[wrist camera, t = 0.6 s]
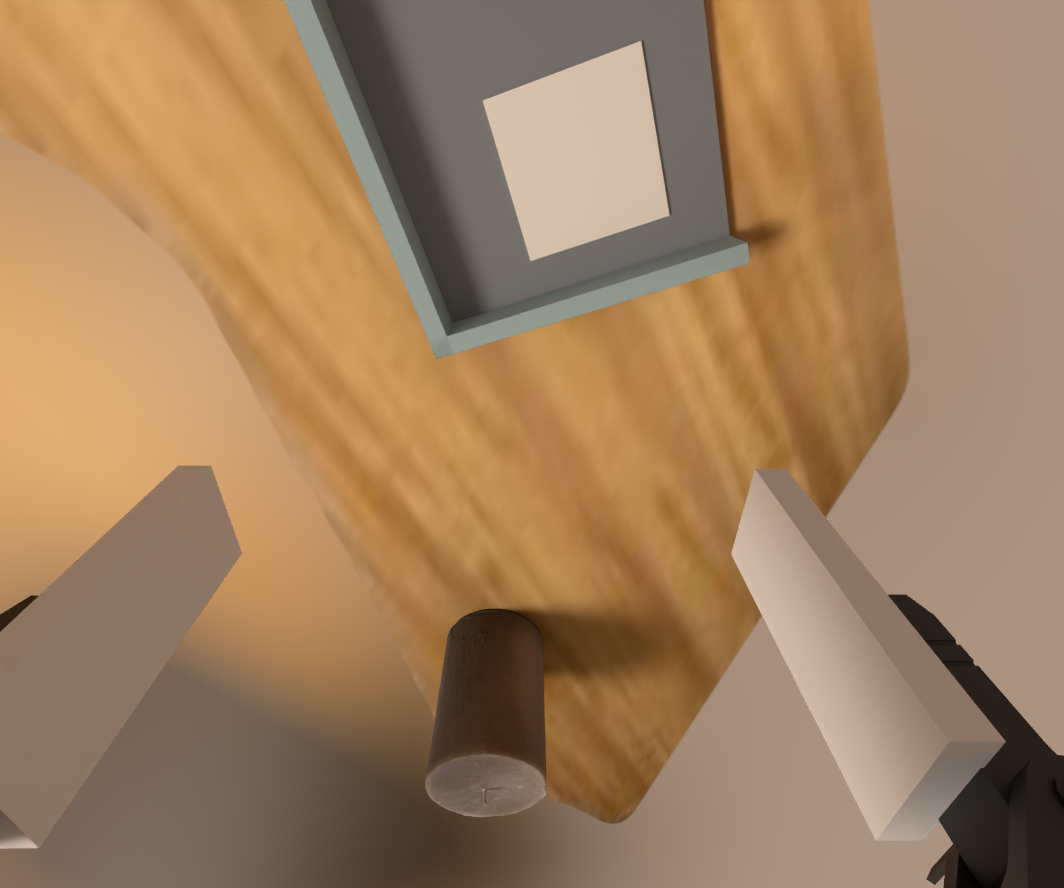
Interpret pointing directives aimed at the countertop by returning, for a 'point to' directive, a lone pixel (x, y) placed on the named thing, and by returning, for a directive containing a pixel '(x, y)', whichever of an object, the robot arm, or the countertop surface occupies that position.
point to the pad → (581, 152)
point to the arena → (473, 161)
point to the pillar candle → (490, 718)
